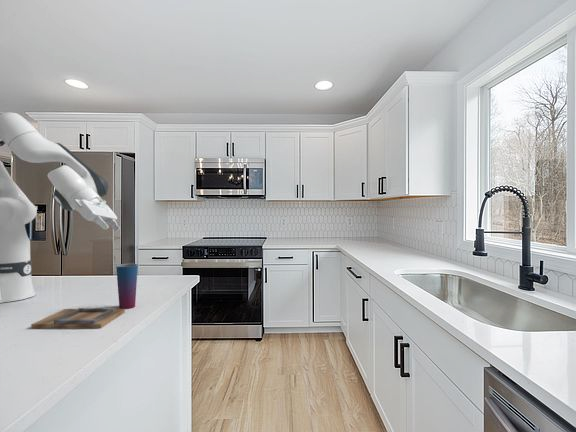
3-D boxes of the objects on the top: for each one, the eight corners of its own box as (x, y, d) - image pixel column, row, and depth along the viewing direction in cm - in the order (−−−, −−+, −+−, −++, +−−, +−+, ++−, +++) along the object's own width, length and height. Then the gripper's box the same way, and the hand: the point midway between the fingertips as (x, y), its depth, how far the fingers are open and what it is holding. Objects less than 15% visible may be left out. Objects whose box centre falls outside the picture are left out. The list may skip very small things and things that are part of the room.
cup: (134, 303, 116) (133, 262, 116) (140, 307, 111) (140, 265, 111) (113, 306, 112) (113, 265, 111) (119, 311, 107) (119, 267, 106)
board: (31, 328, 91) (31, 320, 91) (64, 312, 105) (64, 306, 105) (101, 328, 92) (101, 320, 92) (124, 312, 106) (124, 306, 106)
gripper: (78, 190, 105) (107, 221, 105) (105, 199, 125) (129, 225, 125) (63, 203, 104) (92, 233, 104) (92, 210, 124) (117, 236, 124)
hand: (112, 229), depth 115 cm, fingers open, 8 cm apart
